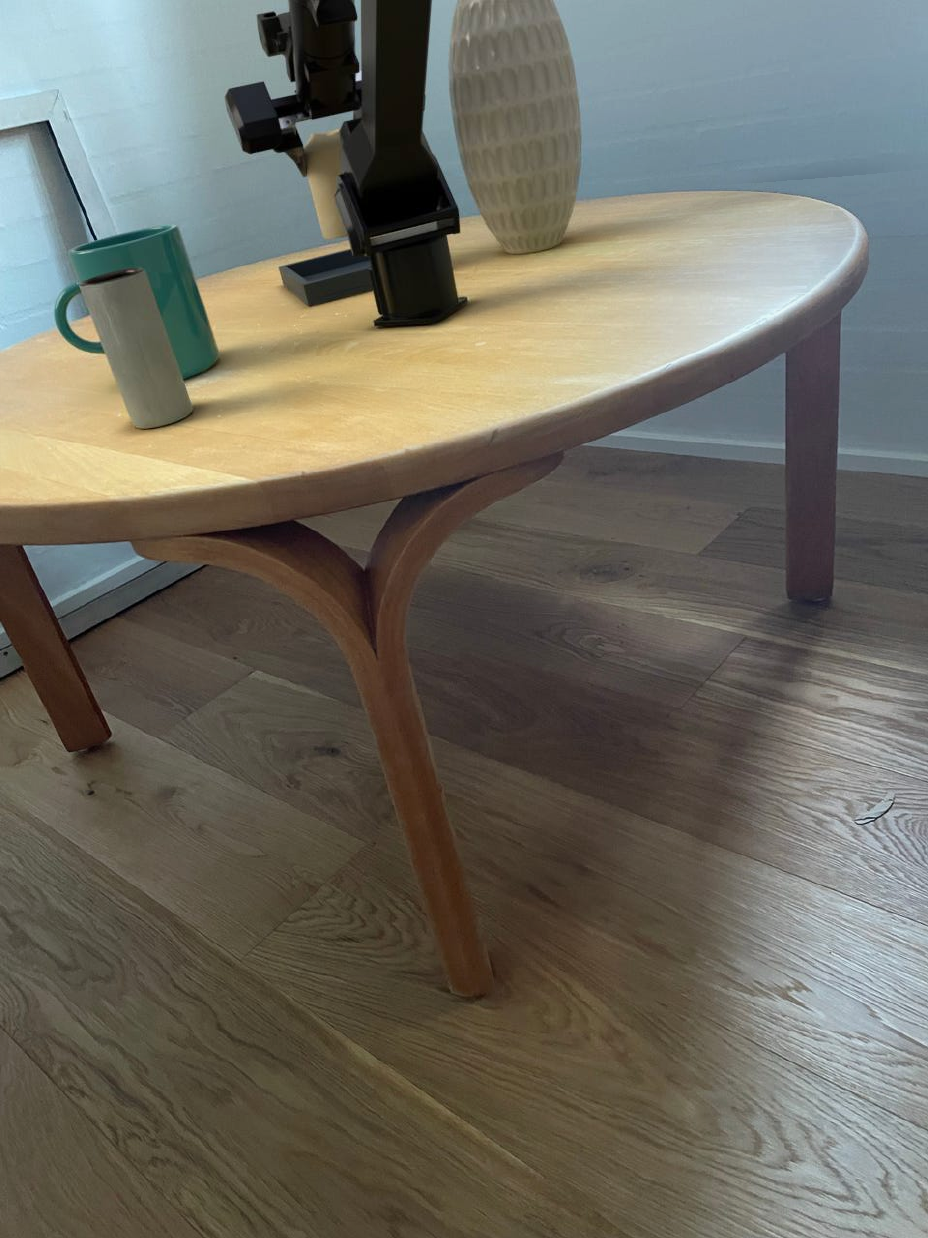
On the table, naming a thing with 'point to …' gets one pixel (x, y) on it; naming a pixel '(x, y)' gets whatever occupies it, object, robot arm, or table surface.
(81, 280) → the cup
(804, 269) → the table surface
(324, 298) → the tray
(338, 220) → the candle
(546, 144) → the vase
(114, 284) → the planter
